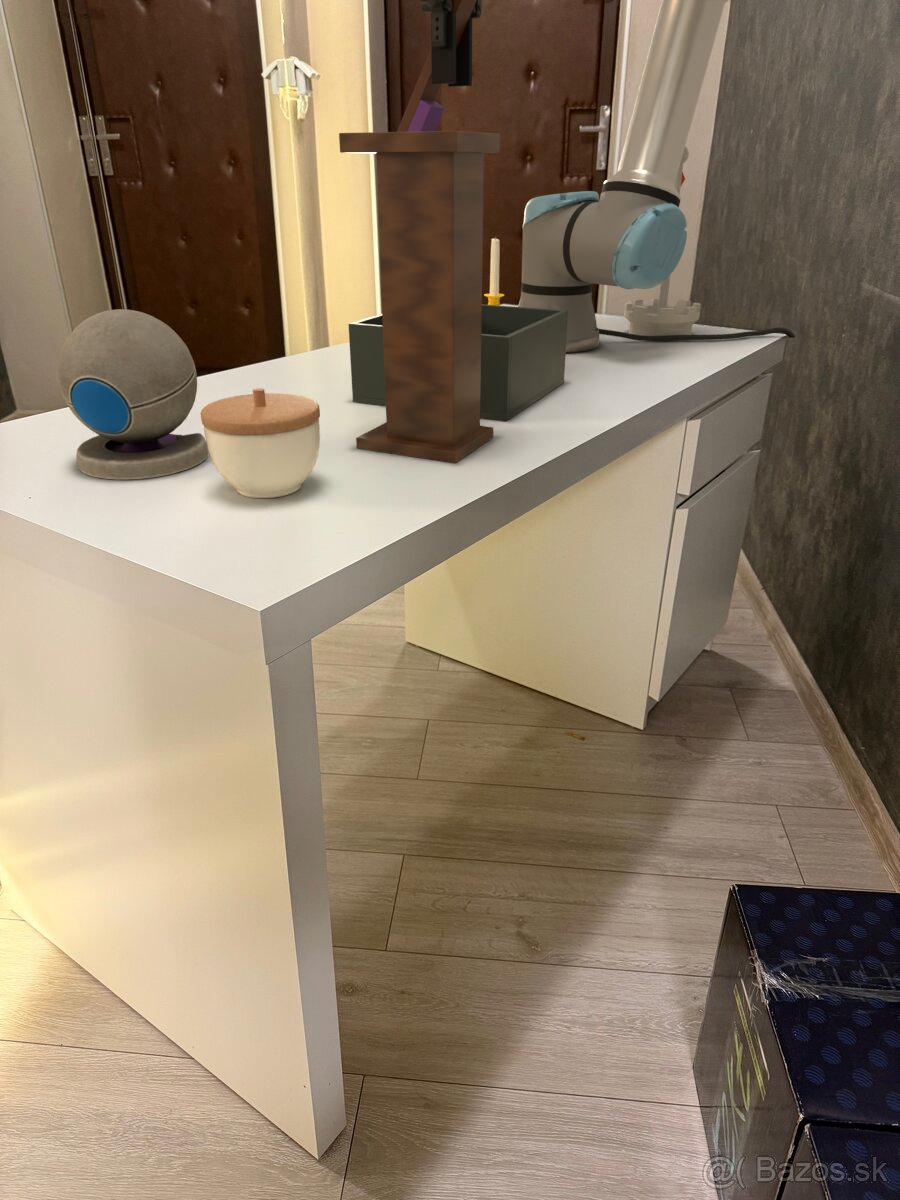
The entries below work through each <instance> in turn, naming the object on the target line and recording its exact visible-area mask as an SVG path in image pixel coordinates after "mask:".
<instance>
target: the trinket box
mask: <svg viewBox="0 0 900 1200" xmlns="http://www.w3.org/2000/svg"><path fill="white" fill-rule="evenodd" d="M320 409H321V408H320V404H319V403H318V402H317V400H315V399H313V398H310V397H308V396H304V395H299V394H292V393H281V392H279V393H277V392H266V391H265V388H261V387H257V388H253V389H252V393H248V394H241V395H234V396H230V397H224V398H222V399H218V400H216V401H212V402H210V403H207V404H206V405H204V407H203V408H201V411H200V420H201V424H202V426H203V429H204V430H203V431H204V438H205V440H206V443H207V447H208V455H209V457H210V459H211V461H212V464H213V466H214V467H215V469H216V471H217V472H218V474H219V475H220V476H221V477H222V479H223V480H224V481H226V482H227V483H228V484H229V485H231V486H232V487H234V488H235V489H236V492H237V493H238V494H240V495H241V496H244V497H248V498H251V499H253V498H254V499H275V498H281V497H284V496H288V495H291V494H294V493H296V492H297V491H299V490H300V489H301V488H302V483H303V482H305V481H306V479H308V477H309V476H310V475H311V474H312V472H313V470H314V468H315V466H316V464H317V461H318V457H319V451H320V445H321V427H320V426H321V425H320V416H321V410H320Z"/></svg>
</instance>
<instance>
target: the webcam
mask: <svg viewBox="0 0 900 1200" xmlns="http://www.w3.org/2000/svg"><path fill="white" fill-rule="evenodd" d="M58 359H59V360H58V364H57V365H58V367H57V369H58V370H57V372H58V382H59V388H60V392H61V395H62V397H63V399H64V402H65V403H66V405H67V407H68V408H69V410H70V411H71V413H72V414H73V415H74V417H76V418H77V420H78V421H79V422H80V423H81V424H82V425H84V426H85V427H86V428H87V429H88V430H90V431H92V432H93V433H95V434H96V436H93V437H91V438H88V439H86V440H85V441H83V442H82V443H81V444H80V445H79V446H78V447H77V449H76V463H77V466H78V470H80V471H81V472H82V473H83V474H85V475H88V476H91V477H95V478H100V479H107V480H141V479H149V478H158V477H163V476H168V475H173V474H175V473H180V472H183V471H186V470H189V469H192V468H194V467H196V466H198V465H200V464H201V463H203V462H204V461H205V460H206V459H207V458H208V456H209V450H208V447H207V443H206V437H205V435H203V434H202V433H201V432H196V433H190V434H175V433H173V432H174V431H176V429H177V428H178V427H181V425H182V423H184V422H185V420H186V419H187V418H188V416H189V414H190V413H191V411H192V409H193V407H194V405H195V402H196V397H197V392H198V375H197V369H196V365H195V361H194V360H193V356H192V355H191V352H190V350H189V348H188V346H187V344H186V343H185V341H183V340H182V338H181V337H180V336H179V334H178V333H177V332H175V330H174V329H172V327H170V326H169V325H167V324H166V323H165V322H163V321H162V320H160V319H158V318H156V317H155V316H153V315H150V314H148V313H145V312H142V311H138V310H133V309H123V308H122V309H121V308H118V309H110V310H104V311H101V312H98V313H95V314H93V315H92V316H89V317H87V318H86V319H84V320H82V322H80V323H79V324H78V325H77V326H76V327H75V328H74V329H73V330H72V331H71V332H70V334H68V336H67V338H66V340H65V342H64V343H63V346H62V348H61V352H60V354H59V357H58Z"/></svg>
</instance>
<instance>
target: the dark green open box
mask: <svg viewBox="0 0 900 1200" xmlns="http://www.w3.org/2000/svg"><path fill="white" fill-rule="evenodd" d="M567 325H568V310H556V309H542V308H527V307H518V306H513V305H500V306H499V305H488V304H482V318H481V383H480V419H486V420H493V421H500V422H501V421H502V422H507V421H509V420H510V419H512V418H514V417H515V416H517V415H518V414H520V413H521V412H523V411H524V410H525V409H527V408H528V407H530V406H531V405H533V404H535V403H536V402H538V401H539V400H540V399H542V398H543V397H545V396H547V395H548V394H549V393H551V392H552V391H554V390H555V389H557V388H559V387H560V386H561V385H563V384H564V383H565V374H566V373H565V371H566V356H567V352H566V341H567ZM348 340H349V341H348V343H349V357H350V360H349V361H350V374H351V375H350V376H351V392H352V393H351V395H352V403H353V402H354V403H359V404H369V405H374V406H375V405H376V406H384V407H386V397H385V371H384V344H383V318H382V313H379V314H377V315H374V316H370V317H367V318H366V317H365V318H362V319H359V320H356V321H353V322H350V323H348Z"/></svg>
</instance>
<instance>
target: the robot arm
mask: <svg viewBox="0 0 900 1200" xmlns="http://www.w3.org/2000/svg"><path fill="white" fill-rule="evenodd" d="M420 2H421V3H422V4H420V5H421V6H420V8H421V12H422V13H423V14H430V13H431V14H430V42H431V43H430V44H431V45H430V46H431V47H430V50H431V61H432V84H441V85H447V86H448V87H449V88H457V87H472V86H473V20H477V19H481V17H482V8H483V7H482V6H483V0H477V1H476V3H475V6H474V8H473V10H472V13H471V15H470V17H469V20H468V22H467V24H466V27H465V29H464V31H463V34H462V36H461V39H460V41H459V43H458V46H457V48H456V13H448V11H451V9H452V0H420ZM727 2H729V0H661V2H660V7H659V10H658V13H657V18H656V22H655V25H654V29H653V33H652V37H651V40H650V45H649V48H648V53H647V56H646V60H645V64H644V67H643V71H642V76H641V80H640V83H639V88H638V90H637V94H636V99H635V101H634V106H633V110H632V114H631V118H630V122H629V125H628V129H627V133H626V136H625V140H624V145H623V148H622V152H621V155H620V160H619V163H618V167H617V171H616V172H615V173H614V174H613V175H612V176H610V177H609V178H607V179H606V180H604V181H603V184H602V189H601V193H600V196H599V193H598V192H597V191H593V190H586V191H585V190H584V191H571V192H564V193H553V194H545V195H540V196H536V197H533V198H531V199H529V200H528V202H527V203H526V205H525V208H524V216H523V224H522V240H521V241H522V246H521V248H522V249H521V289H520V299H519V302H518V304H517V307H527V308H542V309H556V310H568V325H567V341H566V353H579V352H586V351H591V350H593V349H596V348H598V347H599V346H600V336H601V335H603V336H610V337H617V338H622V339H627V340H633V341H642V342H666V341H667V342H669V341H714V340H715V341H717V340H718V341H719V340H734V339H741V338H747V337H748V338H749V337H760V336H767V335H772V334H778V333H780V334H783V335H786V336H787V337H788V338H792V339H795V338H796V335H795V334H794V333H793V331H792V330H790V329H788V328H786V327H780V326H779V327H771V328H767V329H761V330H751V331H750V330H748V331H742V332H741V331H740V332H733V333H720V334H719V333H718V334H717V333H716V334H691V335H666V336H643V335H634V334H629V332H625V331H624V332H623V331H617V330H611V329H606V328H605V329H603V328H599V327H598V324H597V317H596V312H595V308H594V304H593V299H592V298H593V297H592V295H593V293H592V292H593V285H601V286H609V287H617V288H618V287H619V288H621V289H623V290H634V289H639V290H647V289H652V288H656V287H657V286H660V284H661V282H662V281H663V280H665V279H667V278H668V277H669V276H670V277H671V275H672V274H673V272H674V271H675V270H676V268H677V267H678V265H679V262H680V261H681V258H682V256H683V253H684V251H685V247H686V244H687V240H688V239H687V237H688V232H687V230H686V228H687V226H688V224H687V218H686V215H685V214H684V212H683V210H682V209H681V208H680V204H681V200H682V199H681V195H679V194H678V192H677V190H676V188H675V180H676V177H677V173H678V169H679V166H680V162H681V159H682V155H683V152H684V148H685V146H686V144H687V140H688V137H689V133H690V130H691V126H692V123H693V120H694V119H693V118H694V116H695V112H696V108H697V105H698V101H699V98H700V94H701V90H702V87H703V83H704V79H705V77H706V73H707V68H708V66H709V62H710V58H711V55H712V51H713V47H714V44H715V41H716V37H717V33H718V29H719V25H720V23H721V19H722V15H723V12H724V8H725V4H726V3H727Z"/></svg>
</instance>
